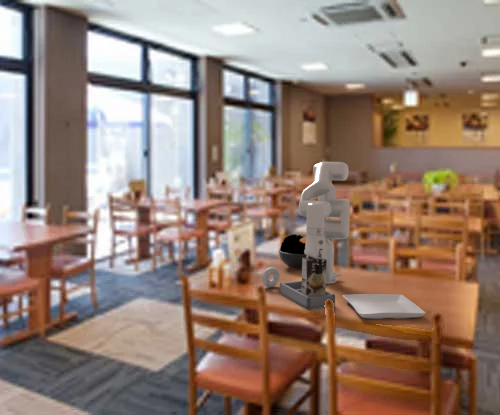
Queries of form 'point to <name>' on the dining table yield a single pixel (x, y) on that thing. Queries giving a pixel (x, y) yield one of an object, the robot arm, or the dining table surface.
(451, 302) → the dining table surface
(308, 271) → the coffee box
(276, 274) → the donut
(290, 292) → the caddy
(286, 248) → the bowl of black rocks
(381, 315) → the square plate
